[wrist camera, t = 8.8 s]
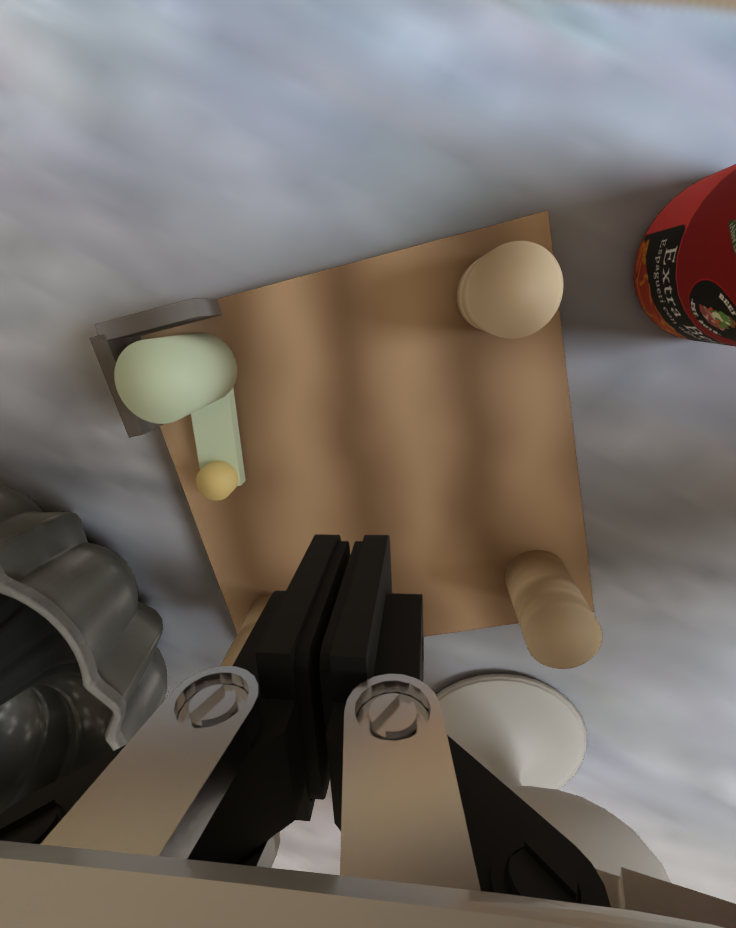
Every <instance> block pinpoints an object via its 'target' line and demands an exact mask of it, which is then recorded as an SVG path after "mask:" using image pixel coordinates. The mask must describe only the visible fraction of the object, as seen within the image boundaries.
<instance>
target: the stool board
mask: <svg viewBox="0 0 736 928" xmlns="http://www.w3.org/2000/svg"><path fill="white" fill-rule="evenodd" d="M562 295H563V276H562V272H561V268H560V266H559V264H558V262H557V260H556V259H555V257H554V256H553V249H552V240H551V232H550V223H549V214H548V211H544V212H540V213H536V214H533V215H529V216H525V217H522V218H518V219H514V220H510V221H507V222H503V223H499V224H495V225H492V226H488V227H484V228H480V229H477V230H473V231H469V232H465V233H462V234H458V235H454V236H451V237H447V238H443V239H439V240H436V241H432V242H428V243H424V244H421V245H417V246H413V247H409V248H406V249H402V250H398V251H394V252H391V253H387V254H383V255H379V256H376V257H372V258H368V259H365V260H361V261H357V262H353V263H350V264H346V265H342V266H338V267H335V268H331V269H327V270H323V271H320V272H316V273H312V274H308V275H305V276H301V277H297V278H293V279H290V280H286V281H282V282H279V283H275V284H271V285H267V286H264V287H260V288H256V289H252V290H249V291H245V292H241V293H237V294H234V295H230V296H226V297H222V298H219V299H200V298H192V299H188V300H184V301H180V302H177V303H173V304H169V305H166V306H162V307H158V308H154V309H151V310H147V311H143V312H140V313H136V314H132V315H129V316H125V317H121V318H117V319H114V320H110V321H106V322H103V323H99V324H95V327H96V329H97V332H98V336H95V337H91V338H90V341H91V343H92V346H93V348H94V351H95V353H96V356H97V358H98V361H99V363H100V366H101V368H102V371H103V373H104V376H105V378H106V381H107V383H108V386H109V388H110V391H111V393H112V396H113V398H114V401H115V404H116V406H117V409H118V411H119V414H120V416H121V419H122V421H123V424H124V426H125V429H126V431H127V434H128V436H129V438H130V437H134V436H139V435H143V434H145V433H147V432H149V431H151V430H154V429H156V428H158V427H160V429H161V431H162V434H163V437H164V439H165V442H166V445H167V447H168V450H169V453H170V455H171V458H172V461H173V463H174V466H175V469H176V471H177V474H178V477H179V479H180V482H181V485H182V487H183V490H184V493H185V495H186V498H187V501H188V503H189V506H190V509H191V511H192V514H193V517H194V519H195V522H196V525H197V527H198V530H199V533H200V536H201V538H202V541H203V544H204V546H205V549H206V552H207V554H208V557H209V560H210V562H211V565H212V568H213V570H214V573H215V576H216V578H217V581H218V584H219V586H220V589H221V592H222V594H223V597H224V600H225V602H226V605H227V608H228V610H229V613H230V616H231V618H232V621H233V624H234V626H235V629H236V632H237V636H236V638H235V639H234V641H233V643H232V645H231V647H230V649H229V651H228V653H227V655H226V657H225V659H224V660H223V662H222V664H221V666H233V664H234V662H235V660H236V658H237V656H238V655H239V653H240V651H241V649H242V647H243V646H244V644H245V642H246V640H247V638H248V636H249V635H250V633H251V631H252V629H253V627H254V626H255V624H256V622H257V620H258V618H259V616H260V615H261V613H262V611H263V609H264V607H265V606H266V604H267V602H268V600H269V598H270V596H271V595H272V594H273V592H274V591H277V590H279V591H286V590H287V588H288V586H289V584H290V582H291V580H292V578H293V576H294V574H295V572H296V570H297V568H298V566H299V564H300V562H301V560H302V558H303V557H304V555H305V553H306V551H307V549H308V547H309V545H310V543H311V541H312V539H313V537H314V535H315V534H327V535H340V537H341V541H349V544H350V555H351V552H352V549H353V546H354V543H355V541H363V538H364V535H389V537H390V551H391V575H392V593H401V594H422V595H423V637H424V636H431V635H438V634H445V633H452V632H460V631H467V630H474V629H481V628H488V627H495V626H502V625H509V624H516V623H519V624H520V627H521V630H522V633H523V636H524V639H525V642H526V645H527V648H528V650H529V652H530V654H531V655H532V656H533V658H534V659H536V660H537V661H538V662H540V663H541V664H543V665H545V666H548V667H552V668H557V669H567V668H573V667H577V666H579V665H582V664H584V663H586V662H587V661H589V660H590V659H591V658H592V657H593V656H594V655H595V654H596V653H597V652H598V650H599V648H600V646H601V643H602V629H601V627H600V625H599V623H598V621H597V619H596V618H595V616H594V614H593V612H594V606H593V598H592V589H591V580H590V572H589V563H588V554H587V545H586V537H585V528H584V519H583V511H582V502H581V493H580V484H579V476H578V467H577V458H576V450H575V441H574V432H573V423H572V415H571V406H570V397H569V389H568V380H567V371H566V362H565V354H564V345H563V336H562V328H561V319H560V310H559V305H560V302H561V299H562ZM197 332H204V333H209V334H212V335H214V336H216V337H218V338H220V339H221V340H222V341H224V342H225V343H226V344H227V345H228V347H229V348H230V349H231V351H232V352H233V354H234V357H235V359H236V363H237V379H236V382H235V384H234V386H233V389H234V396H235V404H236V412H237V419H238V427H239V434H240V442H241V449H242V457H243V464H244V472H245V479H246V481H245V482H244V483H243V484H242V485H241V486H237V487H236V488H235V489H234V490H233V492H232V493H231V494H230V495H229V496H228V497H226V498H225V499H223V500H218V501H215V500H210V499H208V498H206V497H205V496H203V495H202V494H201V493H200V491H199V490H198V488H197V485H196V477H197V474H198V472H199V471H200V467H199V461H198V455H197V448H196V442H195V436H194V430H193V424H192V418H191V414H189V415H187V416H185V417H183V418H181V419H179V420H177V421H174V422H171V423H167V424H157V423H151V422H148V421H146V420H143V419H141V418H140V417H138V416H136V415H135V414H134V413H132V412H131V411H130V410H129V409H128V408H127V407H126V405H125V404H124V403H123V401H122V400H121V398H120V396H119V394H118V391H117V389H116V385H115V379H114V372H115V366H116V362H117V360H118V357H119V356H120V354H121V353H122V351H123V350H124V349H125V348H126V347H127V346H129V345H130V344H132V343H134V342H136V341H140V340H145V339H153V338H160V337H167V336H174V335H182V334H189V333H197Z"/></svg>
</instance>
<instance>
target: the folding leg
mask: <svg viewBox="0 0 736 928" xmlns="http://www.w3.org/2000/svg"><path fill="white" fill-rule="evenodd" d="M114 379H115V385H116V389H117V391H118V394H119V396H120V398H121V400H122V401H123V403H124V404H125V405H126V407H127V408H128V409H129V410H130V411H131V412H132V413H134V414H135V415H136V416H138V417H140V418H141V419H143V420H146V421H148V422H151V423H157V424H167V423H171V422H174V421H177V420H179V419H181V418H183V417H185V416H187V415H189V414H191V418H192V424H193V430H194V436H195V442H196V448H197V455H198V461H199V467H200V471H199V472H198V474H197V477H196V485H197V488H198V490H199V491H200V493H201V494H202V495H203V496H205V497H206V498H208V499H210V500H215V501H218V500H223V499H225V498H226V497H228V496H229V495H230V494H231V493H232V492H233V490H234V489H235V488H236V487H237V486H241V485H242V484H243V483H244V482H245V481H246V479H245V472H244V464H243V457H242V449H241V442H240V434H239V427H238V419H237V412H236V404H235V396H234V389H233V386H234V384H235V382H236V379H237V363H236V359H235V357H234V354H233V352H232V351H231V349H230V348H229V347H228V345H227V344H226V343H225V342H224V341H222V340H221V339H220V338H218V337H216V336H214V335H212V334H209V333H204V332H197V333H189V334H182V335H174V336H167V337H160V338H153V339H145V340H140V341H136V342H134V343H132V344H130V345H129V346H127V347H126V348H125V349H124V350H123V351H122V353H121V354H120V356H119V357H118V360H117V362H116V366H115V372H114Z"/></svg>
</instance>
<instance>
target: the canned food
mask: <svg viewBox="0 0 736 928" xmlns="http://www.w3.org/2000/svg"><path fill="white" fill-rule="evenodd" d="M634 284H635V290H636V295H637V297H638V299H639V302H640V304H641V306H642V308H643V309H644V311H645V312H646V313H647V315H648V316H649V317H650V318H651V320H652V321H653V322H655V323H656V324H657V325H658V326H659V327H660V328H662V329H663V330H665V331H667V332H669V333H671V334H673V335H675V336H677V337H681V338H685V339H689V340H694V341H701V342H708V343H716V344H723V345H730V346H736V164H735V165H733V166H731V167H728V168H726V169H724V170H721V171H719V172H717V173H714V174H712V175H710V176H708V177H705V178H703V179H701V180H700V181H698V182H696V183H694V184H693V185H691V186H689V187H688V188H686V189H685V190H684V191H682V192H681V193H680V194H679V195H677V196H676V197H675V198H674V199H672V200H671V201H670V202H669V204H668V205H667V206H666V207H665V208H664V209H663V210H662V211H661V212H660V213H659V215H658V216H657V217H656V219H655V220H654V221H653V223H652V224H651V226H650V227H649V229H648V231H647V232H646V234H645V235H644V238H643V240H642V242H641V244H640V247H639V249H638V253H637V257H636V261H635V265H634Z"/></svg>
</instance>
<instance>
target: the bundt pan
mask: <svg viewBox="0 0 736 928" xmlns="http://www.w3.org/2000/svg"><path fill="white" fill-rule="evenodd" d="M162 629H163V624H162V618H161V616H160V615H159V613H158V612H157V611H156V610H154V609H153V608H151V607H149V606H147V605H145V604H143V603H141V602H139V601H138V589H137V583H136V580H135V577H134V575H133V572H132V570H131V569H130V567H129V566H128V564H127V563H126V562H125V561H124V560H123V559H122V558H121V557H120V556H119V555H118V554H116V553H115V552H113V551H112V550H110V549H108V548H105V547H103V546H100V545H97V544H92V543H88V541H87V538H86V535H85V532H84V529H83V526H82V523H81V519H80V518H79V517H78V516H77V515H76V514H75V513H72V512H43V511H42V510H41V509H40V508H39V506H38V505H37V504H36V503H35V502H33V501H32V500H31V499H30V498H29V497H27V496H25V495H24V494H22V493H21V492H18V491H16V490H14V489H11V488H8V487H5V486H2V485H0V814H1V813H2V812H4V811H5V810H6V809H7V808H9V807H10V806H12V805H13V804H15V803H17V802H18V801H20V800H21V799H23V798H25V797H26V796H28V795H30V794H32V793H34V792H36V791H38V790H40V789H41V788H43V787H45V786H47V785H49V784H51V783H53V782H55V781H57V780H59V779H61V778H63V777H65V776H66V775H68V774H70V773H72V772H74V771H76V770H78V769H80V768H82V767H84V766H86V765H88V764H89V763H91V762H93V761H95V760H97V759H99V758H101V757H103V756H105V755H107V754H109V753H111V752H113V751H114V750H116V749H118V748H120V747H122V746H124V745H126V744H127V743H128V742H129V741H130V740H131V739H132V738H133V736H134V735H135V734H136V733H137V732H138V731H139V729H140V728H141V727H142V726H143V725H144V724H145V723H146V721H147V720H148V719H149V718H150V717H151V716H152V714H153V713H154V712H155V711H156V710H157V709H158V707H159V706H160V705H161V704H162V703H163V702H164V699H165V694H166V690H167V671H166V666H165V662H164V659H163V657H162V654H161V652H160V651H159V649H158V648H157V644H158V641H159V638H160V636H161V633H162Z"/></svg>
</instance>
